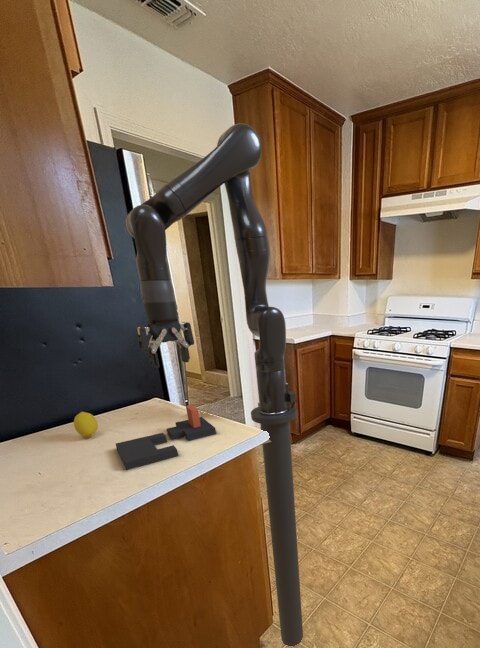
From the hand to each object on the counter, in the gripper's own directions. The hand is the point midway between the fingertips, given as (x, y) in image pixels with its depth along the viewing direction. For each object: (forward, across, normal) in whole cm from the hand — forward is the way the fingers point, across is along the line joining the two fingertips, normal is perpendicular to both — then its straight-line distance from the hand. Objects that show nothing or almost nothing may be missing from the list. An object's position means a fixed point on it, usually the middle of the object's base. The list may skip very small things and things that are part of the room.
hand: (171, 364), depth 95 cm
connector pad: (+21, +2, +1) cm, 21 cm away
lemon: (+21, -17, +22) cm, 35 cm away
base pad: (+21, -13, -2) cm, 24 cm away
